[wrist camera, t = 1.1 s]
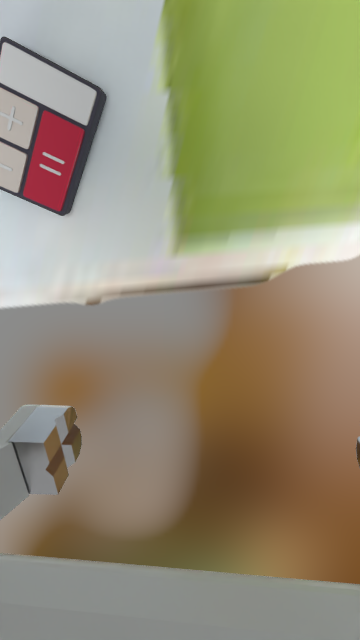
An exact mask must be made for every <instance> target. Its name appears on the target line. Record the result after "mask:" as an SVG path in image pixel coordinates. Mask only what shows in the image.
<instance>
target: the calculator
mask: <svg viewBox="0 0 360 640" xmlns="http://www.w3.org/2000/svg"><path fill="white" fill-rule="evenodd" d="M105 101H106V95H105V93H104V92H103V91H102V90H101V88H99V87H98V86H96V85H94V84H92V83H90V82H89V81H87V80H85V79H83V78H81V77H79V76H77V75H76V74H74V73H72V72H70V71H68V70H66V69H64V68H63V67H61V66H59V65H57V64H55V63H53V62H51V61H50V60H48V59H46V58H44V57H42V56H40V55H38V54H37V53H35V52H33V51H31V50H29V49H27V48H25V47H24V46H22V45H20V44H18V43H16V42H14V41H12V40H11V39H9V38H7V37H2V38H1V40H0V189H1V190H3V191H6V192H8V193H10V194H13V195H15V196H17V197H19V198H22V199H24V200H26V201H29V202H31V203H33V204H36V205H38V206H40V207H42V208H45V209H47V210H49V211H52V212H54V213H56V214H59V215H61V216H64V215H66V214H68V213H69V212H70V210H71V207H72V204H73V201H74V198H75V195H76V192H77V189H78V185H79V182H80V179H81V176H82V173H83V169H84V166H85V163H86V160H87V156H88V153H89V150H90V147H91V143H92V140H93V137H94V134H95V132H96V129H97V126H98V123H99V120H100V117H101V113H102V110H103V107H104V104H105Z"/></svg>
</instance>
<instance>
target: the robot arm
mask: <svg viewBox="0 0 360 640" xmlns="http://www.w3.org/2000/svg"><path fill="white" fill-rule="evenodd" d="M76 419H77V414H76V410H75V408H73V407H72V406H53V405H24V406H21V407H20V408H19V410H18V411H17V412H16V413H15V414H14V415H13V416H12V417H11V418H10V419H9V421H8V422H7V423H6V424H5V425H4V426H3V427H2V428H1V429H0V520H1V519H2V518H3V517H4V516H6V515H7V514H8V513H9V512H10V511H12V510H13V509H14V508H15V507H16V506H18V505H19V504H20V503H21V502H22V501H23V500H25V499H26V498H27V497H28V496H29V494H53V495H58V494H59V492H60V490H61V489H62V487H63V485H64V483H65V481H66V479H67V477H68V475H69V474H68V469H67V468H68V467H69V466H71V465H72V464H74V463H75V462H76V460H77V458H78V456H79V454H80V449H81V445H82V436H81V431H80V429H79V428H78V427H77V426H76V425H75V424H74V423H75V421H76ZM356 453H357V460H358V464H359V467H360V437H358V439H357V445H356ZM0 640H360V585H359V584H346V583H336V582H324V581H312V580H301V579H290V578H278V577H267V576H255V575H244V574H231V573H221V572H209V571H198V570H187V569H175V568H165V567H153V566H142V565H131V564H118V563H107V562H96V561H85V560H73V559H62V558H51V557H39V556H28V555H16V554H4V553H0Z"/></svg>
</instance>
